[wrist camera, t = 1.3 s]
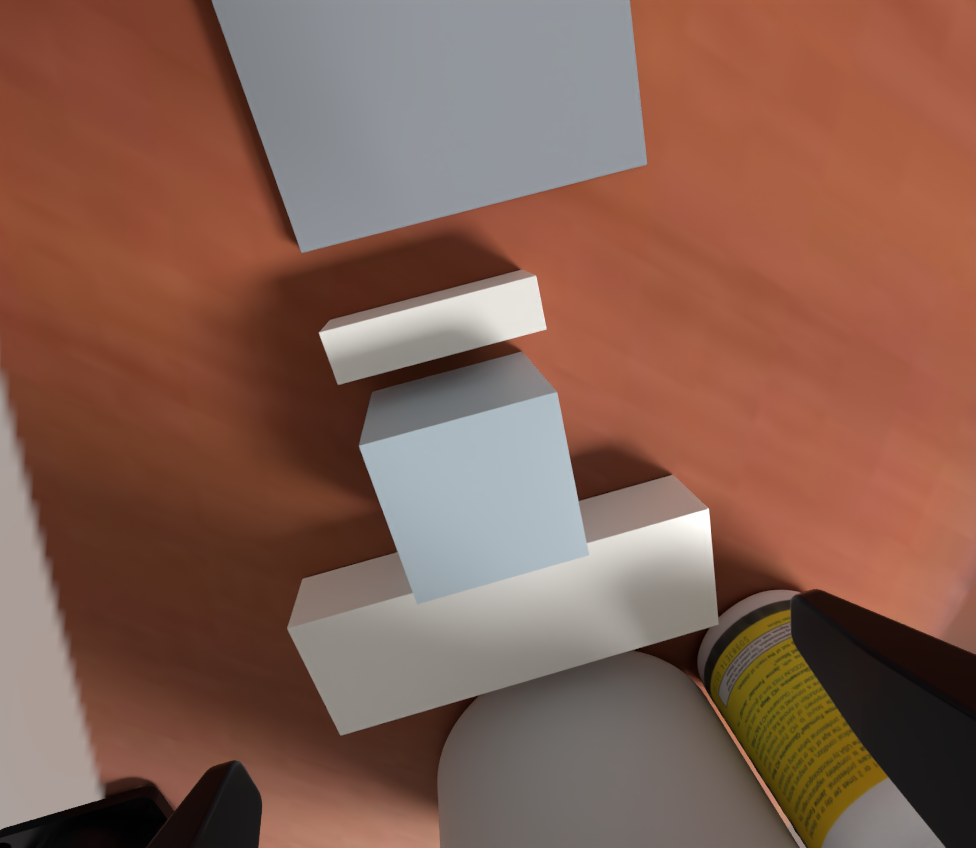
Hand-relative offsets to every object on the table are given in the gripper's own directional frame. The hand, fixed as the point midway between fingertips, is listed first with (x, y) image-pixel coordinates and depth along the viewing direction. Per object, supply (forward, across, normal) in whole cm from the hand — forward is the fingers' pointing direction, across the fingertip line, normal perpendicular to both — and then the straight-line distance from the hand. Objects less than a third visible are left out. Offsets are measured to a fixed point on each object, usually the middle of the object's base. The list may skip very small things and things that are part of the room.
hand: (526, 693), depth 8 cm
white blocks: (+10, 0, +2) cm, 10 cm away
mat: (+10, -2, -12) cm, 16 cm away
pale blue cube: (+10, 0, 0) cm, 10 cm away
